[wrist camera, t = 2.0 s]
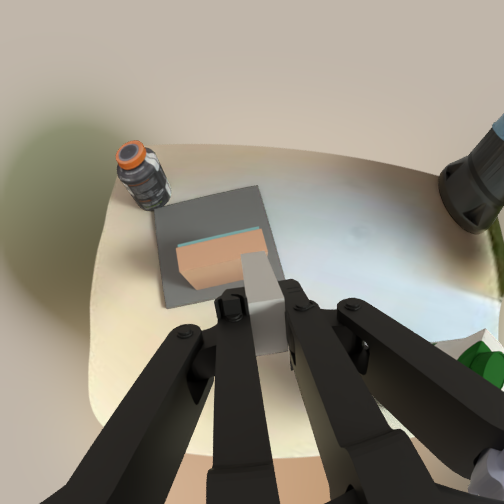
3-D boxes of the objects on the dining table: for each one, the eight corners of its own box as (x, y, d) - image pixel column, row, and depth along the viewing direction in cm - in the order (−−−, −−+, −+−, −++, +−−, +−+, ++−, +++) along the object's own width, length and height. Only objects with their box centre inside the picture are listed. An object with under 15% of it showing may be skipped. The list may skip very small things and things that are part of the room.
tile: (258, 253, 37) (260, 225, 28) (264, 274, 36) (268, 251, 27) (192, 268, 36) (175, 244, 27) (196, 290, 35) (179, 272, 26)
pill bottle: (176, 181, 42) (157, 134, 31) (165, 214, 40) (140, 170, 29) (144, 178, 42) (119, 134, 31) (132, 210, 40) (101, 169, 29)
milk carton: (396, 335, 33) (500, 314, 15) (433, 365, 32) (535, 360, 13) (363, 387, 31) (459, 413, 12) (404, 415, 29) (500, 443, 10)
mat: (257, 188, 41) (257, 185, 40) (285, 282, 36) (285, 281, 35) (155, 211, 40) (154, 209, 39) (168, 308, 35) (166, 308, 34)
